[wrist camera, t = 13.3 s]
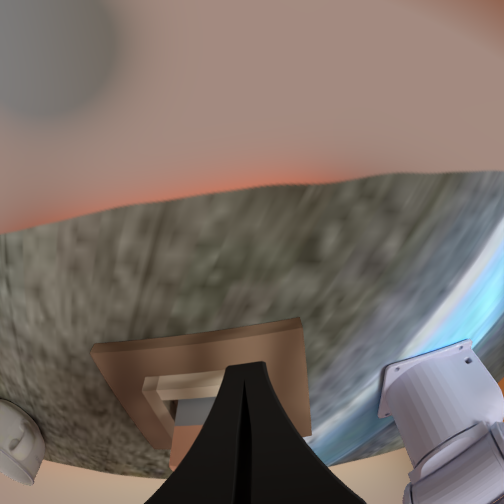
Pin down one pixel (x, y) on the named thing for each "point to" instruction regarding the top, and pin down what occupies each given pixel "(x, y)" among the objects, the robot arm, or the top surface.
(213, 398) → the square peg
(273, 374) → the socket board
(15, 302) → the top surface
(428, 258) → the top surface
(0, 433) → the teacup
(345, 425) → the top surface
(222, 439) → the robot arm
